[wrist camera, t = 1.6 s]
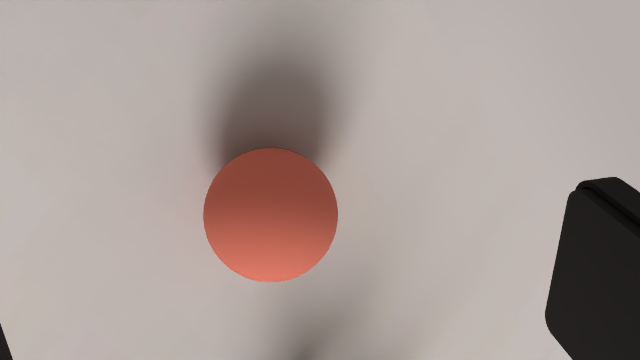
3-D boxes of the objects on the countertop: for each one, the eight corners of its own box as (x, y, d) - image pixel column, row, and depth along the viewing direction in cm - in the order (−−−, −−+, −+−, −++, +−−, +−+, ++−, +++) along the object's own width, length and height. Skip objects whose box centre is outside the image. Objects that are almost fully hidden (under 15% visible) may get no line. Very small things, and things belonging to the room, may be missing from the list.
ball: (191, 137, 28) (196, 198, 23) (318, 119, 29) (350, 174, 24) (209, 245, 31) (218, 321, 26) (324, 225, 32) (355, 295, 27)
